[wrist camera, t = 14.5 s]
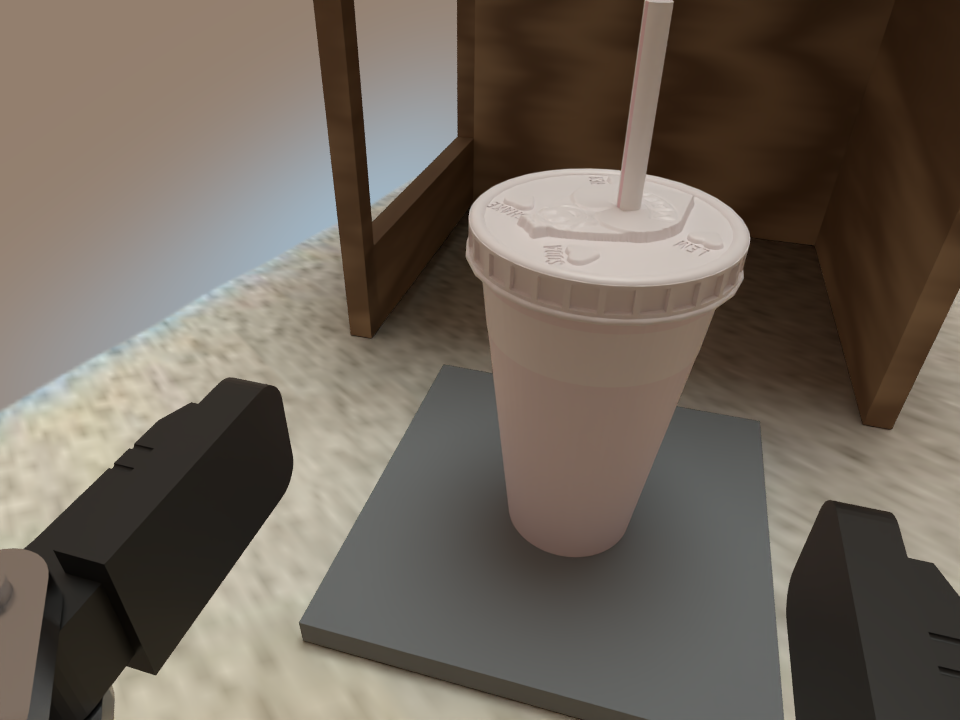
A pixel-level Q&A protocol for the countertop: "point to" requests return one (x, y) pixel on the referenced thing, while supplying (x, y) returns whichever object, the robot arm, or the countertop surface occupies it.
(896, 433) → the countertop surface
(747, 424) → the slate mat
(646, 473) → the smoothie
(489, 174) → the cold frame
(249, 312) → the countertop surface
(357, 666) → the countertop surface
